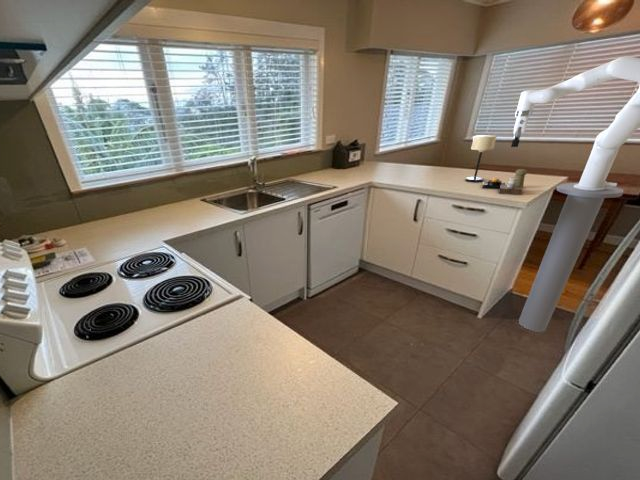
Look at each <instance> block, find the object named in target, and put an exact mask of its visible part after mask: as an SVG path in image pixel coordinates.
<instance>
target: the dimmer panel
mask: <svg viewBox="0 0 640 480" xmlns="http://www.w3.org/2000/svg"><path fill="white" fill-rule="evenodd" d="M507 185H508V184H505V185H500V189H498V194H500V195H501V194H502V195H514V196H515V195H517V196H521V195H522V192H523V188H522V186H516V187H515V188H508V187H507Z"/></svg>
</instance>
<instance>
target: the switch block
mask: <svg viewBox="0 0 640 480" xmlns="http://www.w3.org/2000/svg"><path fill="white" fill-rule="evenodd" d="M482 183H483V184H482V189H490V190H491V189H492V190H499V189H500V185H506V182H502V180H500V179H499V181H498V182H493V181H492V179H489V180H488V181H483V182H482Z"/></svg>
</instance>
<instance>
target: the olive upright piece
mask: <svg viewBox="0 0 640 480" xmlns="http://www.w3.org/2000/svg"><path fill="white" fill-rule="evenodd" d="M527 173H528V170H527V169H523V168H521V169H520V168H519V169H517V170H516V171H515V176H514V177H515V178H518V181H517V184H516V186H522V189H523V188H524V182H525V176H526V175H527Z"/></svg>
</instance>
